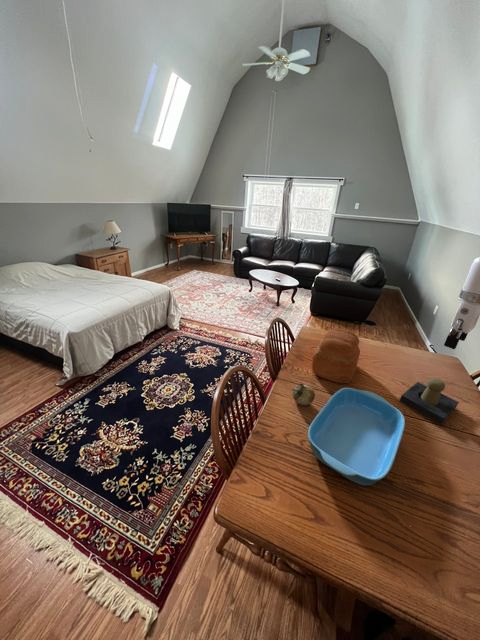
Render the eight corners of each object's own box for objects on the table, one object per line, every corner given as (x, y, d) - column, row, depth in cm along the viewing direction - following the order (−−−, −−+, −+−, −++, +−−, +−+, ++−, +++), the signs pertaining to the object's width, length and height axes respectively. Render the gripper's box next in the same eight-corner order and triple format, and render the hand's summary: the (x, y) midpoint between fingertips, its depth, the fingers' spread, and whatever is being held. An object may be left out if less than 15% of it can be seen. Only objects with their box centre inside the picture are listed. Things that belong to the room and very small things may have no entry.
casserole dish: (374, 514, 64) (382, 496, 61) (292, 459, 77) (296, 441, 74) (404, 424, 91) (411, 408, 87) (340, 394, 103) (344, 379, 100)
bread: (307, 374, 114) (313, 340, 106) (320, 351, 131) (326, 320, 124) (350, 389, 106) (360, 353, 99) (357, 363, 123) (366, 330, 116)
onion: (307, 412, 94) (310, 394, 90) (287, 401, 98) (290, 384, 95) (316, 401, 99) (320, 384, 96) (297, 391, 104) (300, 374, 100)
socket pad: (455, 408, 99) (458, 402, 98) (441, 425, 91) (444, 418, 90) (415, 387, 109) (417, 381, 108) (399, 401, 101) (401, 395, 100)
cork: (435, 413, 96) (446, 388, 92) (416, 404, 100) (426, 380, 95) (438, 404, 100) (449, 381, 96) (419, 396, 104) (429, 373, 99)
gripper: (481, 306, 78) (458, 355, 85) (496, 295, 88) (474, 340, 95) (451, 298, 83) (432, 345, 91) (468, 288, 93) (450, 332, 100)
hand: (454, 343), depth 93 cm, fingers open, 9 cm apart
